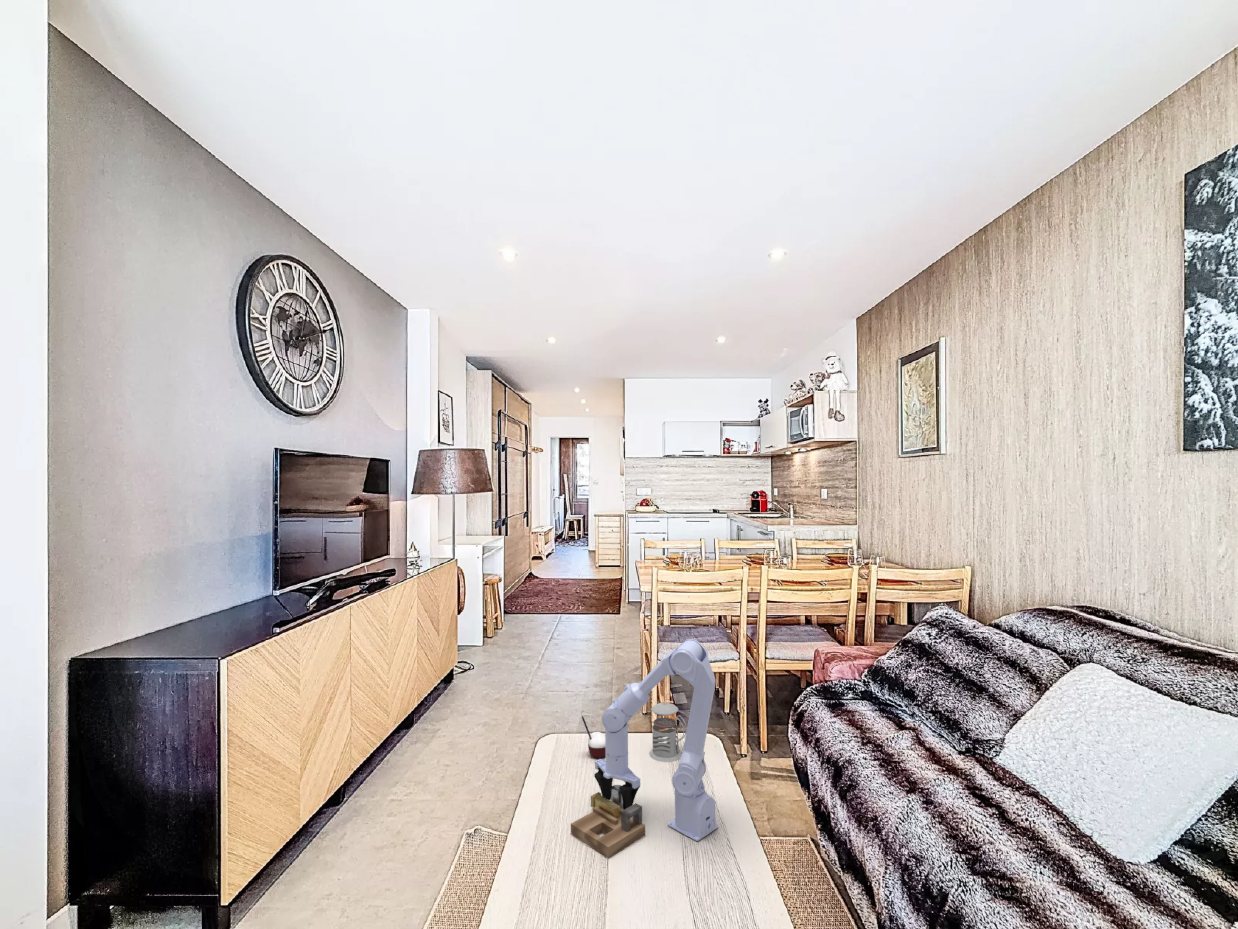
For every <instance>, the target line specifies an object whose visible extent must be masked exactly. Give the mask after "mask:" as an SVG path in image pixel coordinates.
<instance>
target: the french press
mask: <svg viewBox="0 0 1238 929" xmlns="http://www.w3.org/2000/svg"><path fill="white" fill-rule="evenodd" d="M667 676H669V675H666V676H665V677H664V678H663V681H664V684H663V686H664V687H663V688H664V692H663V693H664V694H663V695H664V700H663V701H664V702H659V703H657V704H655V705H653V706H652V707H651V711H652V712H653V713H654V714H655V715H657V716H662V717H659V718H655V719H654V720H653V724H652V749H651V750H650V751H649V754H648V755H649V757H650V758H651V759H652V760H655V761H657V762H663V763H671V762H675V761H678V760H680V758H681V755H682V752H681V751H680V750H679V743H680V742H681V741H682V740H683V739H685V736H686V731H687V724H686V721H685V719H684V718H683V717H682V716H681V715H680V714H679V715H677V716H675V718H672V717H669V716H673V715H675V714H677V712H678V711H679V707H678V706H676V705H675V704H673V703H669V702H666V677H667ZM663 716H664V717H663ZM666 716H667V717H666ZM679 717H680V718H681V720H682V721H683V722H682V721H681V720H680V718H679ZM677 721H679V722H680V723H681V726H682V729H683V730H682V732H683V733H682V736H681V738H679V727H678V725H677V724H678V722H677ZM683 723H684V724H683ZM684 725H685V727H684ZM664 729H665V730H664ZM659 730H660V731H659ZM661 730H662V731H661Z"/></svg>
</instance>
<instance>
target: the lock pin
mask: <svg viewBox="0 0 1238 929" xmlns="http://www.w3.org/2000/svg"><path fill="white" fill-rule="evenodd" d="M590 807H591V808H592V809H593V808H594V807H597V808H599V809H601V810H602V811H604V812H606V813H608V814H609V815H611V816H613V817H615V818H616V817H618V816H620V806H619V805H617V804H615V803H614V802H612V801H611V799H610V800H608V799H606V798H605V797H603V796H602V793H601V792H599V791H598V792H596V793H594V794H592V795H590Z"/></svg>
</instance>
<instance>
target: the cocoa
mask: <svg viewBox="0 0 1238 929" xmlns="http://www.w3.org/2000/svg"><path fill="white" fill-rule="evenodd" d="M581 719H582V722H583V725H584V727H585V729H586V732H587V735H588V739H587V743H588V744H587V748H588V751H589V754H590V756H591V757H592V758H595V759H602V758H604V757H606V750H605V734H604V733H602V732H600V731H594V732H592V733H590V731H589V729H588V725H587V722H586V719H585V718H584V716H581Z"/></svg>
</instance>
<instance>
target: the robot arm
mask: <svg viewBox="0 0 1238 929" xmlns="http://www.w3.org/2000/svg"><path fill="white" fill-rule="evenodd" d="M676 674H677V675H679V676H680V677H682V679H684V680H685V681H687V682H688V683H689V684H690V685H691V686H692V688H693V692H692V697H691V703H690V710H689V715H688V721H687V724H686V727H687V730H685V732H686V735H685V737H684V743H683V749H682V752H681V754H682V755H681V758H680V759H679V761H678V762H679V763H678V766H677V769H676V771H675V772H673V775H672V779H671V783H672V784H671V785H672V787H673V789H674V818H673V819H672V820H669V821H668V822H667V826H668V827H670V828H672V829H674V830H675V831H677V832H679V833H681V834H683V835H685V836H687V837H688V838H691V839H692V840H694V841H696V842H699V841H700V840H702V839H703V838H705V837H706V836H707V835H709V834H710V833H712V832H713V831H714V830H716V829H717V828H718V824H716V801H715V800H714V798H713V797H711V796H710V795H709V794H708V793H707V791H706V788H705V785H704V781H703V777H704V776H705V774H706V771H707V765H706V762H705V751H704V749H705V745H706V738H707V734H708V733H707V732H708V728H709V722H710V718H711V717H710V716H711V710H712V706H713V700H714V693H715V688H716V682H717V681H716V677H715V674H714V671H713V668H712V665H711V663H710V660H709V653H708V651H707V649H706V648H705V647H704V646H703V645H702V643H701V642H699V641H698V640H696V639H694V638H688V639H685V640H684V641H682V642H681V644H680V646H676V647H675V648H674V649H672V650H671V651H670V652H668V653H667V654H666V655H664V657H663V658H662V659H661V660H660V661H659V662H658V663H657V664H656V665H655V666H654V667H653V668H652V669H651V671H650V672H649V673H648V674H647V675H646V676H645V677H644V678H643V679H642V680H641V682H631V684H626V685H625V687H624V688H623V690H624V691H623V692H622V693H621V694H620V695H619V696H618V697H615V698H613V700H612V703H611V705H610V706H609V707H607V708H606V709H605V710H604V712H603V714H602V715H601V723H602V725H603V727H604V728H605V734H604V735H605V750H606V756H605V759H602V758H598V759H597V760H595V761H594V769H595V770H597V772H595V773H594V776H593V777H594V779H595V780H596V782H597V784H598V786H599V789H600V793H601V796H603V797H605V798H606V799H608V800H610V801H611V787H612V786H613V781H614V780H617V781H618V780H619V781H622V782H624V784H622V785H621V786H620V787H619V789H620V792H621V795H622V800H623V809H624V810H625V809H626V808H628V807H630V806H632V805H634V801H635V799H636V796H637V793H638V791H639V789H640V788H641V777H639V776H638V775H636V774H635V773H634V772H633V771H632V770H631V769H630V767H629V734H628V729H629V728H628V722H630V720H631V718H633V717H634V716H635V715H636V714H637V713H638V712H639V711H640V710H641V709H642V708H643V707H644V706H645V705H646V704H647V703H648V701H649V694H650V692H651V691H652V690H653V689H654V688H655V687H656V686H657V685H659V683H660V682H661V681H662V680H664V677H665V678H666V677H667V676H666V675H668V676H671V677H672V676H676Z"/></svg>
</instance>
